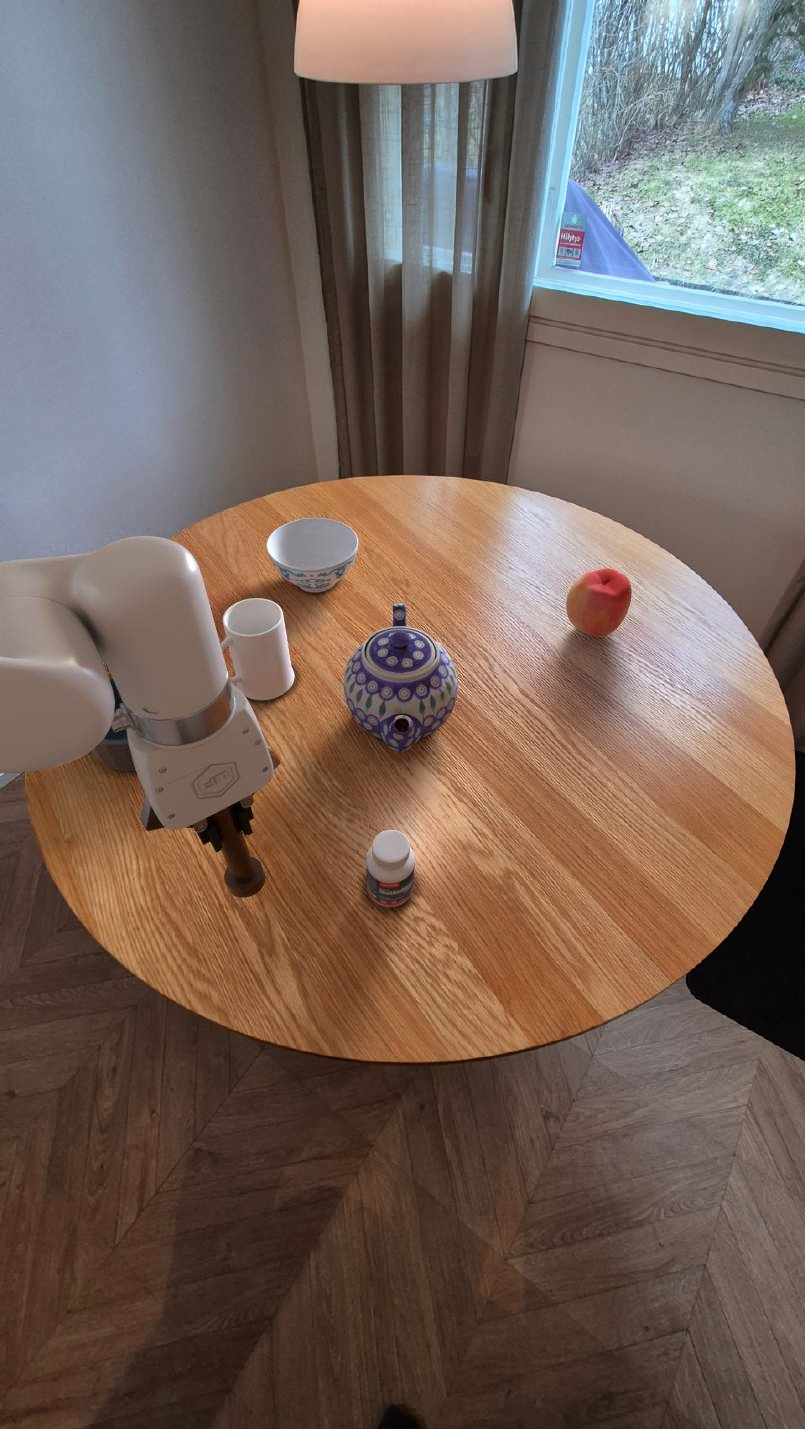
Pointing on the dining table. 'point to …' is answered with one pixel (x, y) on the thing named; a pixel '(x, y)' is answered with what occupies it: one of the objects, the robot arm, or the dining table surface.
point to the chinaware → (313, 552)
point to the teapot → (400, 683)
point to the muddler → (237, 856)
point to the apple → (599, 602)
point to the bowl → (115, 744)
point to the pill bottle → (390, 869)
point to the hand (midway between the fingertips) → (227, 831)
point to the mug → (258, 648)
